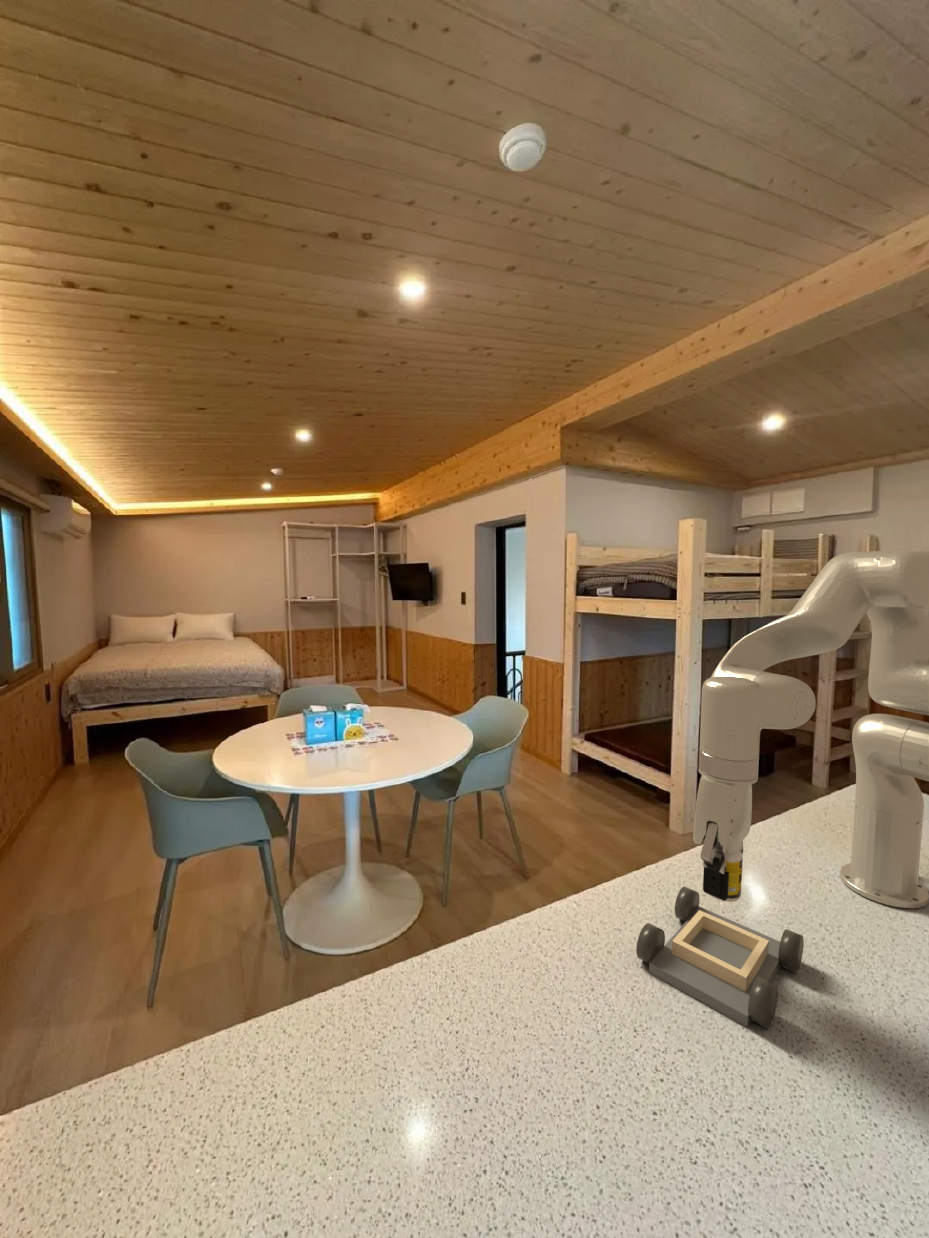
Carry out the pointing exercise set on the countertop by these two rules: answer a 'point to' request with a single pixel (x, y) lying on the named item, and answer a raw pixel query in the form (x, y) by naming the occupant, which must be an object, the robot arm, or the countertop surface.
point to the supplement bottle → (733, 873)
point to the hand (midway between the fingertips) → (722, 886)
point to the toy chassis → (720, 961)
